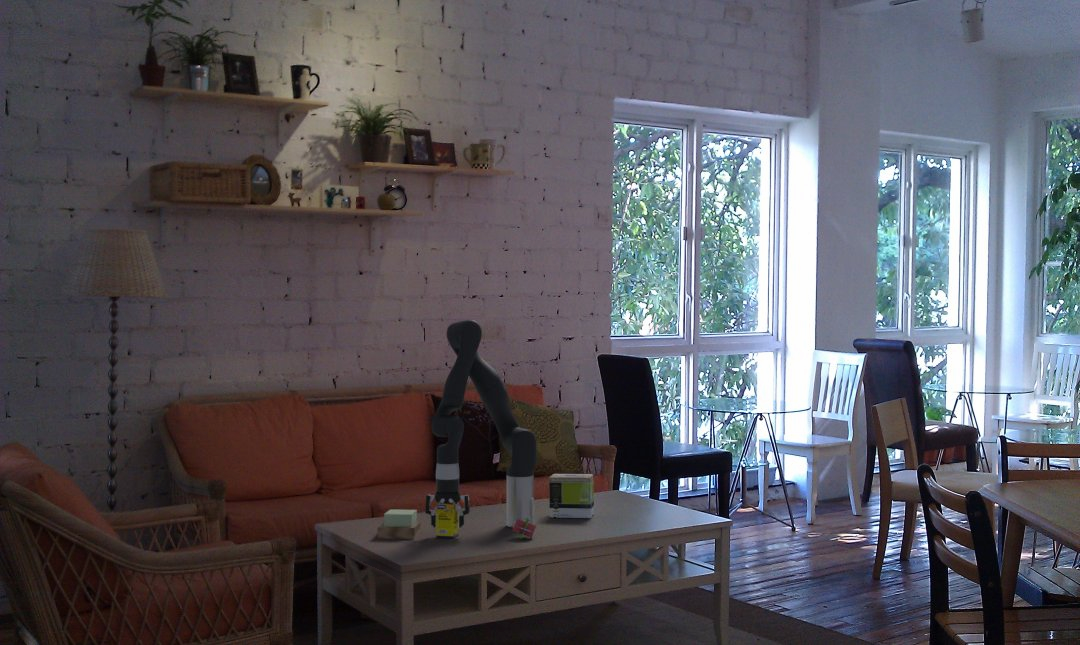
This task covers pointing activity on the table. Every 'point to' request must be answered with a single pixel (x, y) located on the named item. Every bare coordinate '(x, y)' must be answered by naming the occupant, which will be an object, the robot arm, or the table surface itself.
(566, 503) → the tea box
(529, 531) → the geometric puzzle
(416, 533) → the walnut base slab
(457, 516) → the supplement box
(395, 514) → the sage top slab
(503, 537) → the table surface
